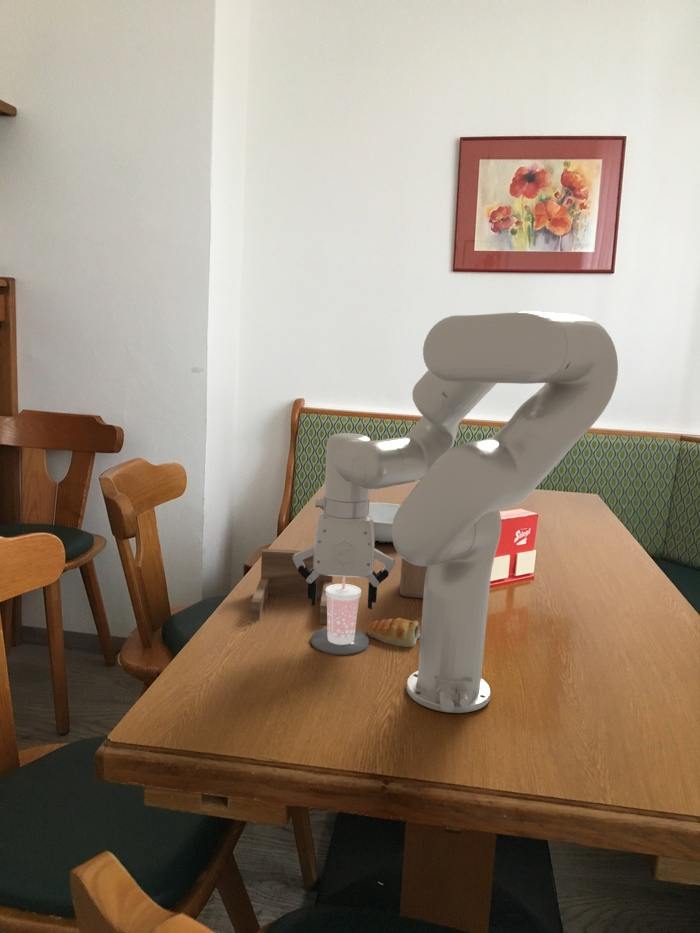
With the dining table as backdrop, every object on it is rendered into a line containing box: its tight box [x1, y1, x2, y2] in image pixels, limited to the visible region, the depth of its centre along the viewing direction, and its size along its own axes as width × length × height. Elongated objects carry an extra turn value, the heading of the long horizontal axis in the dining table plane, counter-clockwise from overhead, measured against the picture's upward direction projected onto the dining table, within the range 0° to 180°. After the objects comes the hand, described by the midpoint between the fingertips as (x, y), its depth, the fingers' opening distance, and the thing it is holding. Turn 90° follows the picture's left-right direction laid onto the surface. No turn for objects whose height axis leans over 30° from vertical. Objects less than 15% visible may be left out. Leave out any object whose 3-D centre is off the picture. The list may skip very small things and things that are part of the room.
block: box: [399, 557, 428, 599], centre depth 154 cm, size 10×10×20 cm
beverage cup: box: [325, 577, 362, 645], centre depth 128 cm, size 6×6×14 cm
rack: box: [250, 548, 334, 625], centre depth 144 cm, size 15×14×9 cm
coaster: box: [310, 627, 370, 656], centre depth 130 cm, size 10×10×1 cm
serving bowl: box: [369, 502, 401, 543], centre depth 193 cm, size 21×21×7 cm
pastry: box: [365, 617, 421, 648], centre depth 133 cm, size 9×7×4 cm
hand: (341, 604), depth 128 cm, fingers open, 9 cm apart
